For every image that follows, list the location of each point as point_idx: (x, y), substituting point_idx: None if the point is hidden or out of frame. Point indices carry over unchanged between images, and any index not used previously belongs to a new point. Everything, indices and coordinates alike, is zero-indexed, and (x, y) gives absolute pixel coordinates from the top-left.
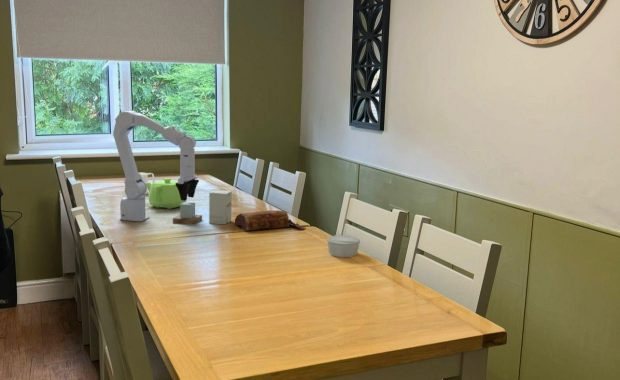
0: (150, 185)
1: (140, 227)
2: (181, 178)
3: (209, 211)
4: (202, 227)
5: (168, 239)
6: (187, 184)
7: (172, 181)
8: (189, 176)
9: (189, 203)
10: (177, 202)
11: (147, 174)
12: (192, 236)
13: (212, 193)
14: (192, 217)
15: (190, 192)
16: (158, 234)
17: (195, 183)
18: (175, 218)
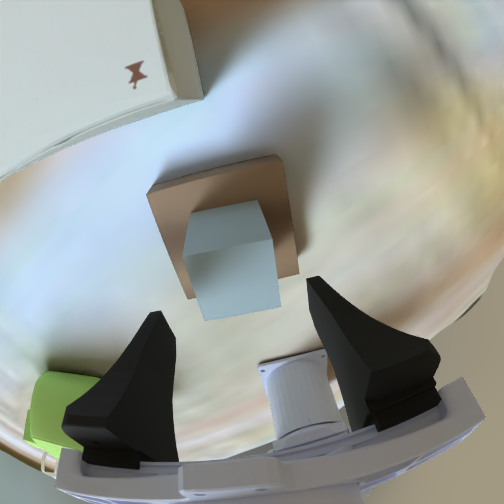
0: None
1: (396, 300)
2: (445, 447)
3: (199, 96)
4: (315, 79)
5: (498, 133)
6: (425, 365)
7: (53, 454)
8: (346, 497)
9: (226, 275)
10: (81, 386)
11: (53, 474)
12: (458, 66)
13: (168, 51)
14: (231, 203)
15: (163, 357)
16: (465, 194)
17: (124, 406)
18: (297, 261)
